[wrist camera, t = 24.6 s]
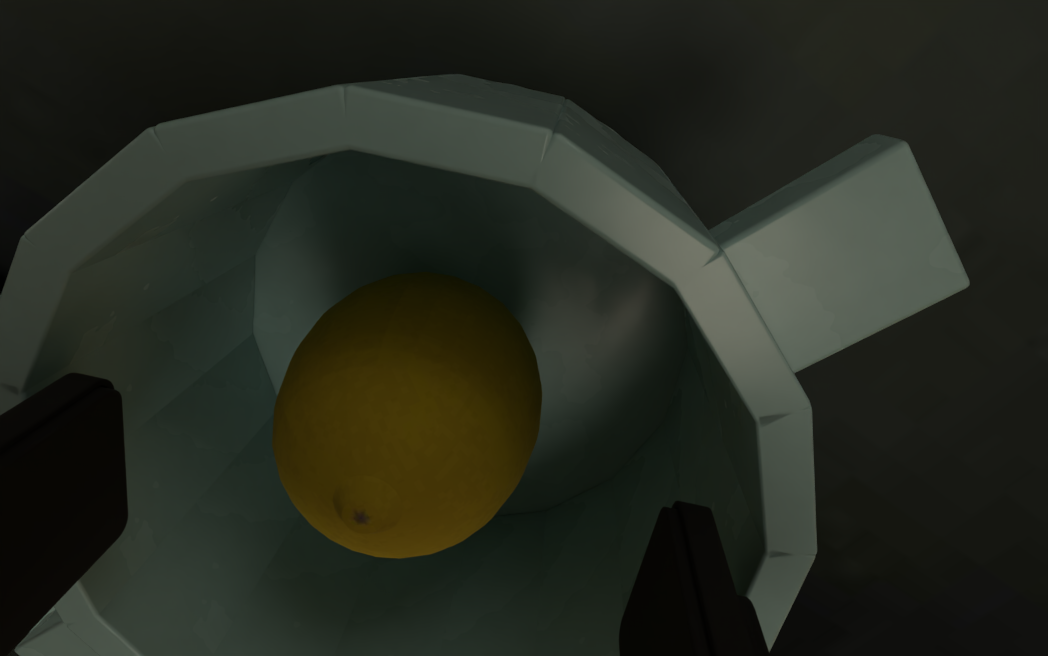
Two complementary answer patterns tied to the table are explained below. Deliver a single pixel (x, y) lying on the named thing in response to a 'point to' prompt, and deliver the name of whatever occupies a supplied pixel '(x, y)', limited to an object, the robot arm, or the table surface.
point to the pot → (508, 275)
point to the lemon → (407, 415)
